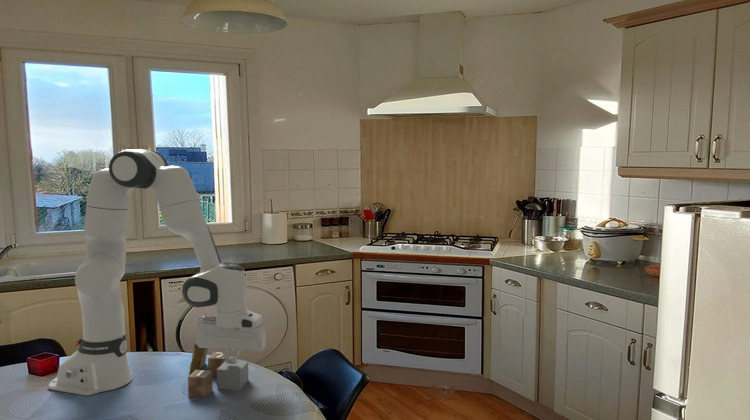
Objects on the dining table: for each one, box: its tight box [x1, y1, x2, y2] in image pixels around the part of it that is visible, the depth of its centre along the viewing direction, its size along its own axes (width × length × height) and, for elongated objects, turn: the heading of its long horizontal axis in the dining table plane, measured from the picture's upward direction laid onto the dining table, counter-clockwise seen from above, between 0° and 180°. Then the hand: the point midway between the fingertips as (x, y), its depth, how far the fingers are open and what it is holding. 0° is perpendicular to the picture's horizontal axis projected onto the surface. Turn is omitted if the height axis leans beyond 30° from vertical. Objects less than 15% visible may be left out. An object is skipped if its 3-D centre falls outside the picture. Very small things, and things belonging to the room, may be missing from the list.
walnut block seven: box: [207, 351, 231, 378], centre depth 169 cm, size 5×5×6 cm
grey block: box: [216, 360, 249, 391], centre depth 161 cm, size 7×7×6 cm
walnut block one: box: [187, 369, 214, 399], centre depth 155 cm, size 5×5×6 cm
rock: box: [188, 342, 209, 375], centre depth 172 cm, size 11×9×10 cm
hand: (231, 363), depth 160 cm, fingers closed
